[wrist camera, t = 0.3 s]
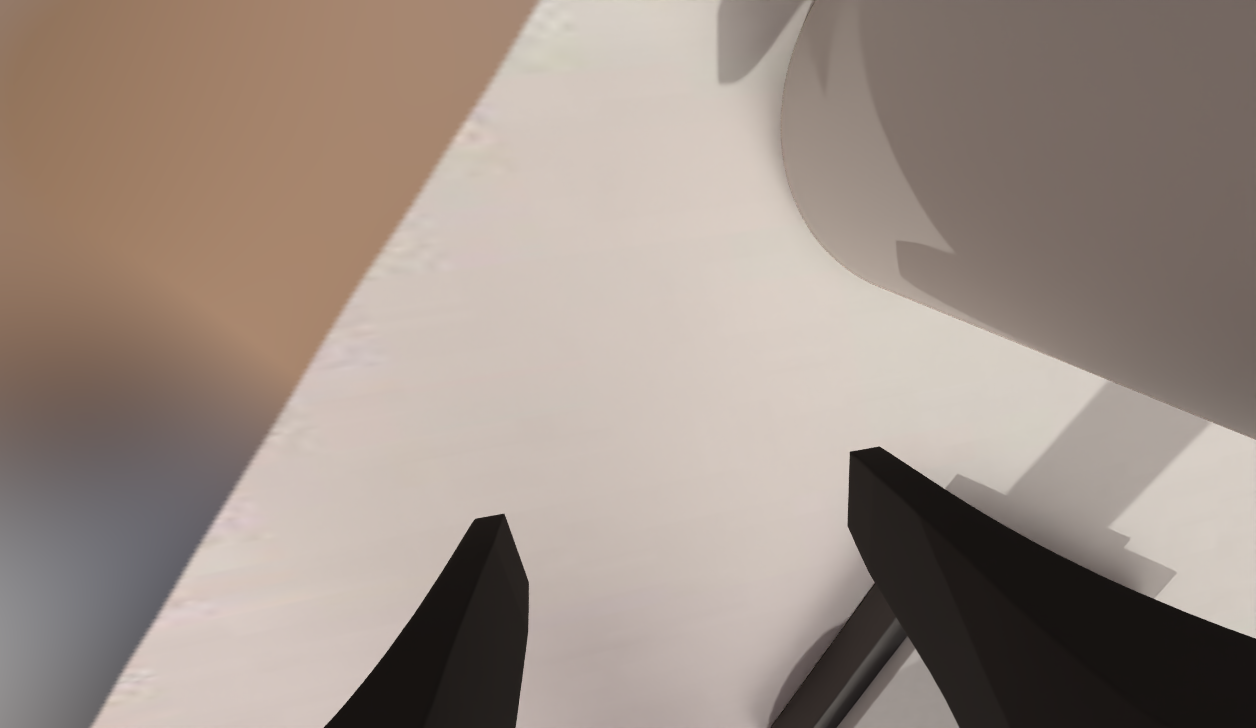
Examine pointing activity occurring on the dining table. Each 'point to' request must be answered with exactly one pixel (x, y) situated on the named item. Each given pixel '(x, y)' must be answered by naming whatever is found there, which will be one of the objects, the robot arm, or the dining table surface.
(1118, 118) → the cylinder vase
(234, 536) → the dining table surface
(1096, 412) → the dining table surface
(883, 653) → the scale
